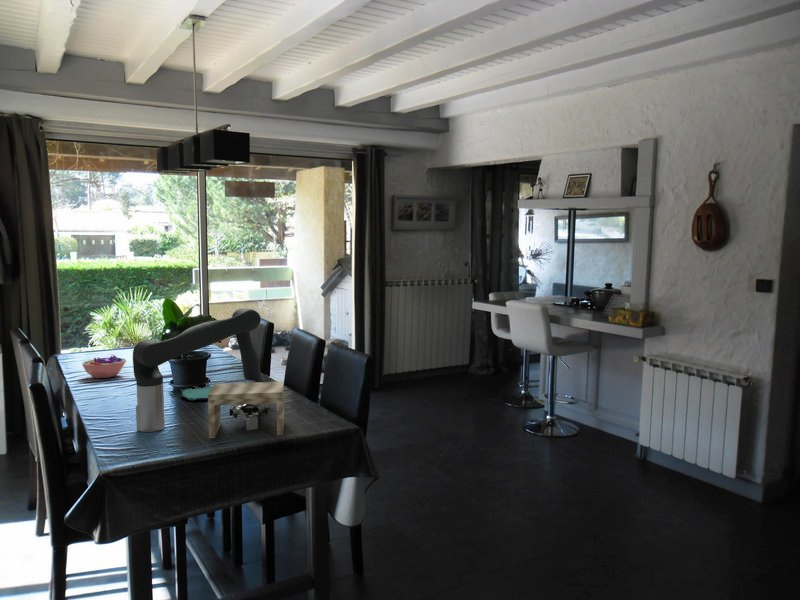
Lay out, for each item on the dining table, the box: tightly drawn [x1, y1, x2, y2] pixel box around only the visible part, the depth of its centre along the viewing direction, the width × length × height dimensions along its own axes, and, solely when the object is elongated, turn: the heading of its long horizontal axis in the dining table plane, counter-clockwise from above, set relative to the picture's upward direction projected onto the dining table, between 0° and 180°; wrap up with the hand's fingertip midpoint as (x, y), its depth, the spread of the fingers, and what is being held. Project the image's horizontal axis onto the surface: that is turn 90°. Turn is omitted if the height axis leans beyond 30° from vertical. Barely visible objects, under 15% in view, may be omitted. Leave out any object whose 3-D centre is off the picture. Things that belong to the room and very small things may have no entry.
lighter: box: [238, 410, 259, 431], centre depth 230 cm, size 7×2×8 cm, turn 125°
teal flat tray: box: [179, 383, 213, 401], centre depth 281 cm, size 20×30×2 cm, turn 30°
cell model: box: [81, 354, 127, 379], centre depth 310 cm, size 17×20×11 cm
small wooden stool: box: [207, 381, 285, 439], centre depth 229 cm, size 26×16×16 cm, turn 99°
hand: (247, 415), depth 228 cm, fingers open, 8 cm apart
